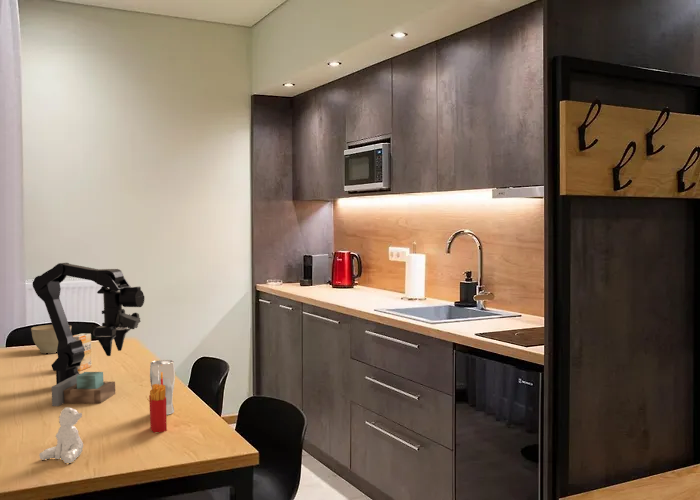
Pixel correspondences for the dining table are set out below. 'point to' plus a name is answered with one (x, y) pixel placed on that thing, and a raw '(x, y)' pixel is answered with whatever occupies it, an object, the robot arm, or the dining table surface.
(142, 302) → the robot arm
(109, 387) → the brown square frame
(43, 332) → the planter bowl
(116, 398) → the dining table surface
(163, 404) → the french fries
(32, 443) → the dining table surface
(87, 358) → the supplement box
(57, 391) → the slab
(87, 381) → the pale teal cube
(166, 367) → the beer glass
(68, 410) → the sitting furry creature
